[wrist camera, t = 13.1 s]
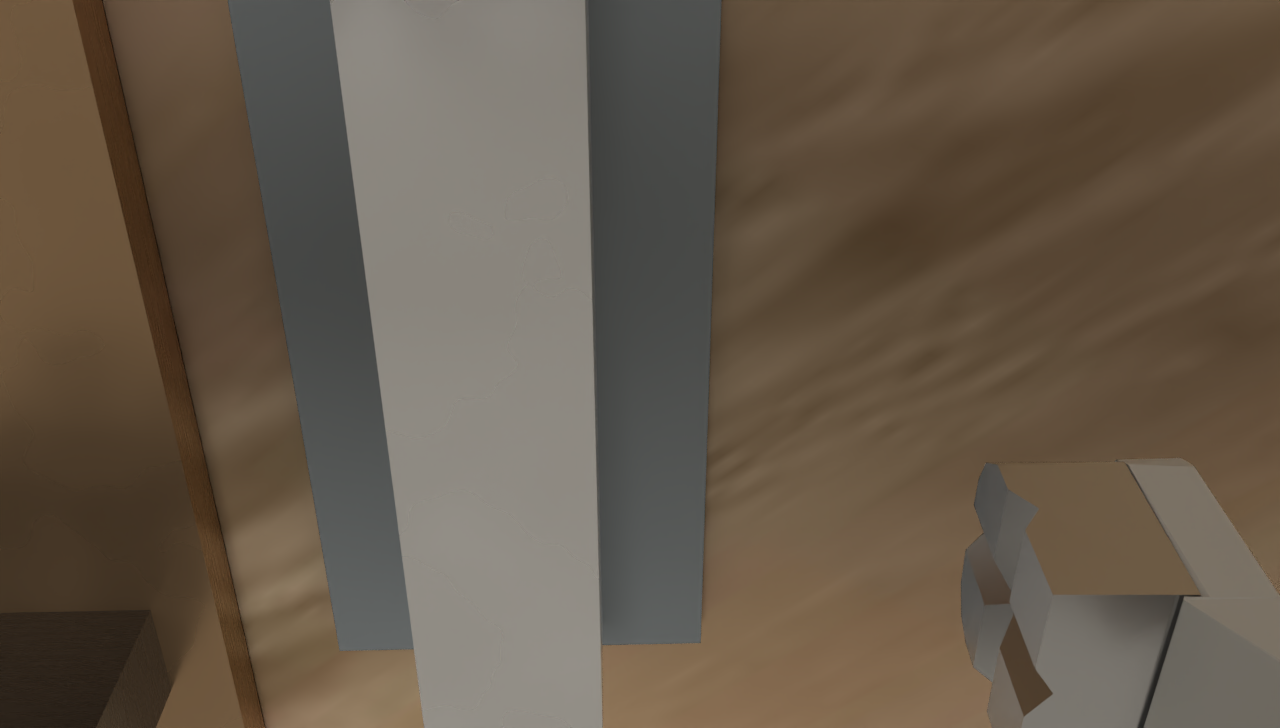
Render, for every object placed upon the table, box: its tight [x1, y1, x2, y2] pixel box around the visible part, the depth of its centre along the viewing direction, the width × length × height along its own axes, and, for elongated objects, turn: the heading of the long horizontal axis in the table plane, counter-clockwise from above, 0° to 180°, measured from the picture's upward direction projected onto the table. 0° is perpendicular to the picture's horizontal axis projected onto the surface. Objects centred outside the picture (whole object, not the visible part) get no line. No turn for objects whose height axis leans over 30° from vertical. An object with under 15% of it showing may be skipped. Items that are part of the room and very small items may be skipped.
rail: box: [330, 0, 603, 728], centre depth 17 cm, size 20×3×3 cm, turn 0°
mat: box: [228, 0, 722, 651], centre depth 19 cm, size 7×21×1 cm, turn 0°
